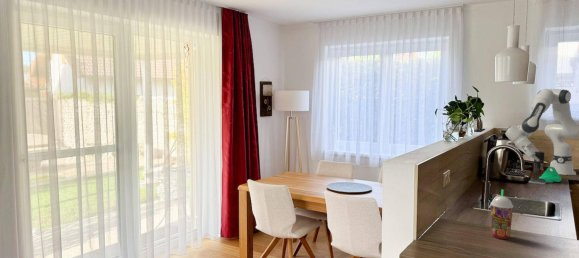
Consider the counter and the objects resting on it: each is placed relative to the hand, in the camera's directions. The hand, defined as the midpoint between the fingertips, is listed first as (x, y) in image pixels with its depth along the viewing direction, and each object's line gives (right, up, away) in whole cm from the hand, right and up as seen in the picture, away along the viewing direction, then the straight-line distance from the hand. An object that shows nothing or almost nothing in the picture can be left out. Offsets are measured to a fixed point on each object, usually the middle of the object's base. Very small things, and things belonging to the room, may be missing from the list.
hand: (540, 160), depth 269 cm
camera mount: (+11, -16, +6) cm, 20 cm away
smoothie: (-87, -23, -108) cm, 140 cm away
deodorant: (-1, -9, +1) cm, 10 cm away
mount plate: (0, -16, +2) cm, 16 cm away
